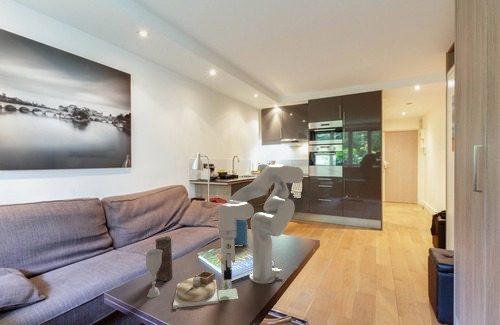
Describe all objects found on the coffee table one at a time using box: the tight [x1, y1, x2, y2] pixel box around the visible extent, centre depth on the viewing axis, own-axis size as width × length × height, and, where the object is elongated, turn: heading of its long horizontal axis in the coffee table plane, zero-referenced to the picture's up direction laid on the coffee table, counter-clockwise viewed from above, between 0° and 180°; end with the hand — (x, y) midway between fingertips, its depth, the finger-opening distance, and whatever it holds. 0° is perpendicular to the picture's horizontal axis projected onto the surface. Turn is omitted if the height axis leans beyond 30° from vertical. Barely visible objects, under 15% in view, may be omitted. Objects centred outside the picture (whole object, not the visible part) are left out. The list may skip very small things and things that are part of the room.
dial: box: [176, 270, 217, 302], centre depth 101 cm, size 16×16×5 cm
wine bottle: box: [234, 219, 249, 246], centre depth 164 cm, size 14×13×30 cm
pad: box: [217, 287, 239, 302], centre depth 100 cm, size 8×8×1 cm
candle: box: [155, 235, 173, 282], centre depth 115 cm, size 8×7×20 cm
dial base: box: [172, 279, 219, 310], centre depth 101 cm, size 17×17×2 cm
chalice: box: [144, 248, 163, 299], centre depth 101 cm, size 7×7×18 cm
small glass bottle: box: [220, 257, 232, 290], centre depth 100 cm, size 4×4×12 cm
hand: (227, 276), depth 100 cm, fingers closed on small glass bottle, 4 cm apart
